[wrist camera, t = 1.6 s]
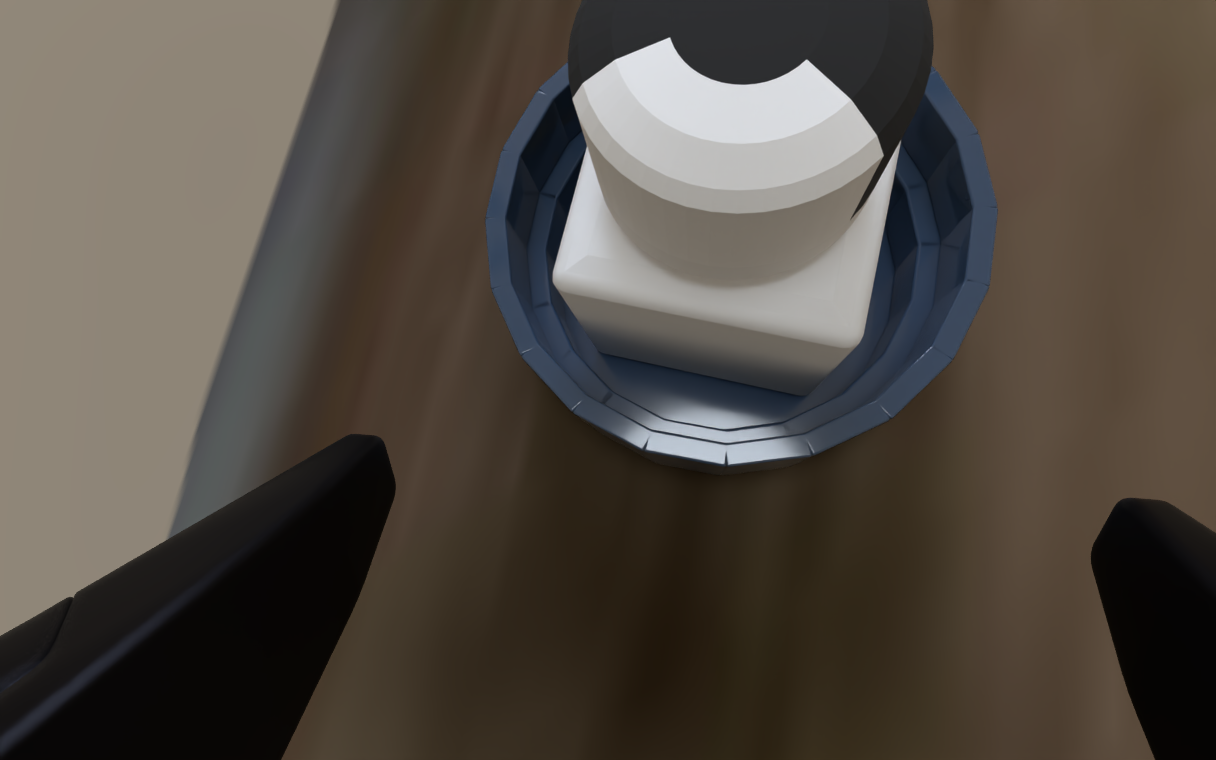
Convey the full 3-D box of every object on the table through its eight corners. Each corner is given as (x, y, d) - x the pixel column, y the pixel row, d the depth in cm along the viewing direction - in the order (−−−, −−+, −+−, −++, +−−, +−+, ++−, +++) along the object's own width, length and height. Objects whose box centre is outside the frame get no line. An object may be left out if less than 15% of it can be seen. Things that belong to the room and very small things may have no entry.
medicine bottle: (643, 159, 23) (586, -191, 12) (851, 192, 22) (1023, -161, 10) (593, 353, 22) (475, 183, 11) (809, 399, 21) (947, 266, 9)
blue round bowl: (901, 511, 20) (965, 512, 15) (494, 433, 22) (438, 412, 18) (950, 119, 22) (1020, 11, 17) (573, 82, 25) (541, -22, 20)
